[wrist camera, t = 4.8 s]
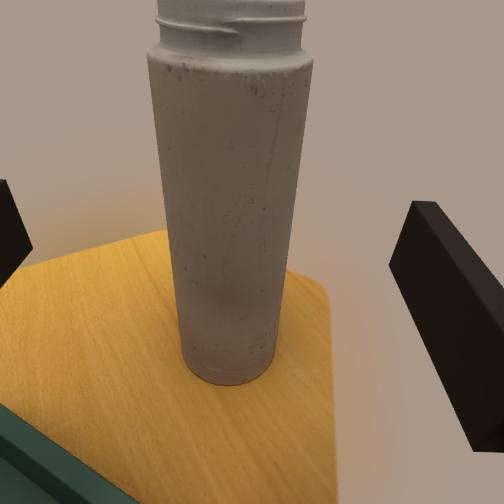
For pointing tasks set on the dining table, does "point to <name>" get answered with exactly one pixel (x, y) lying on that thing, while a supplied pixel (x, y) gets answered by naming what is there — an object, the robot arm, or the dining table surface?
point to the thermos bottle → (229, 170)
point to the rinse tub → (46, 470)
